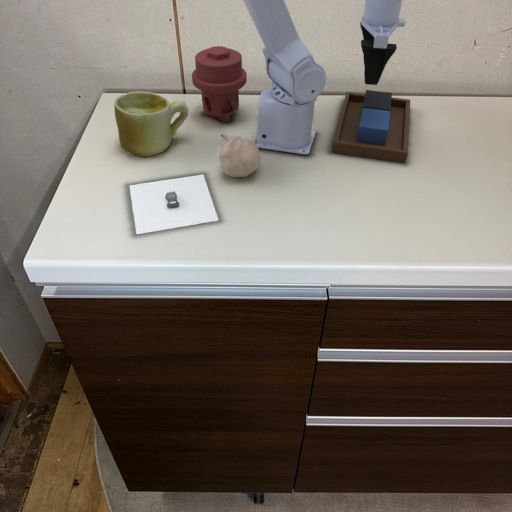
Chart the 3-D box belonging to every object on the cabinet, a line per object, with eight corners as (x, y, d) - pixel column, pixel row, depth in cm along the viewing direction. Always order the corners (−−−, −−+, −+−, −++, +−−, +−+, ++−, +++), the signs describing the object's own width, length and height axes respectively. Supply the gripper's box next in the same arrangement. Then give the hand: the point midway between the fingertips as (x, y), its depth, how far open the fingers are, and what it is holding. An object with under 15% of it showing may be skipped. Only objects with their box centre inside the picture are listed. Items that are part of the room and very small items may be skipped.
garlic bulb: (226, 160, 81) (224, 117, 75) (263, 164, 80) (264, 121, 74) (216, 182, 76) (214, 139, 70) (255, 187, 75) (256, 143, 70)
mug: (108, 156, 78) (111, 93, 73) (116, 142, 87) (119, 85, 83) (183, 166, 80) (190, 106, 76) (183, 151, 89) (189, 96, 85)
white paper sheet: (203, 174, 78) (202, 166, 77) (218, 220, 70) (218, 212, 69) (129, 185, 75) (127, 177, 74) (136, 234, 67) (134, 226, 66)
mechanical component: (184, 117, 91) (217, 97, 97) (225, 133, 87) (256, 111, 93) (177, 52, 82) (214, 35, 88) (222, 66, 78) (257, 48, 84)
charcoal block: (360, 121, 89) (362, 106, 87) (363, 104, 94) (366, 89, 92) (386, 124, 89) (390, 109, 86) (388, 107, 93) (392, 92, 91)
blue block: (356, 141, 84) (359, 126, 82) (360, 122, 89) (362, 107, 87) (384, 145, 83) (388, 130, 81) (387, 125, 88) (390, 111, 86)
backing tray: (331, 152, 83) (332, 142, 81) (344, 101, 96) (346, 91, 95) (404, 163, 81) (407, 152, 79) (407, 109, 94) (410, 99, 93)
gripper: (416, 5, 69) (395, 94, 78) (407, -23, 79) (390, 59, 88) (367, 3, 69) (353, 91, 79) (365, -25, 79) (352, 56, 89)
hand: (370, 74), depth 84 cm, fingers open, 7 cm apart
